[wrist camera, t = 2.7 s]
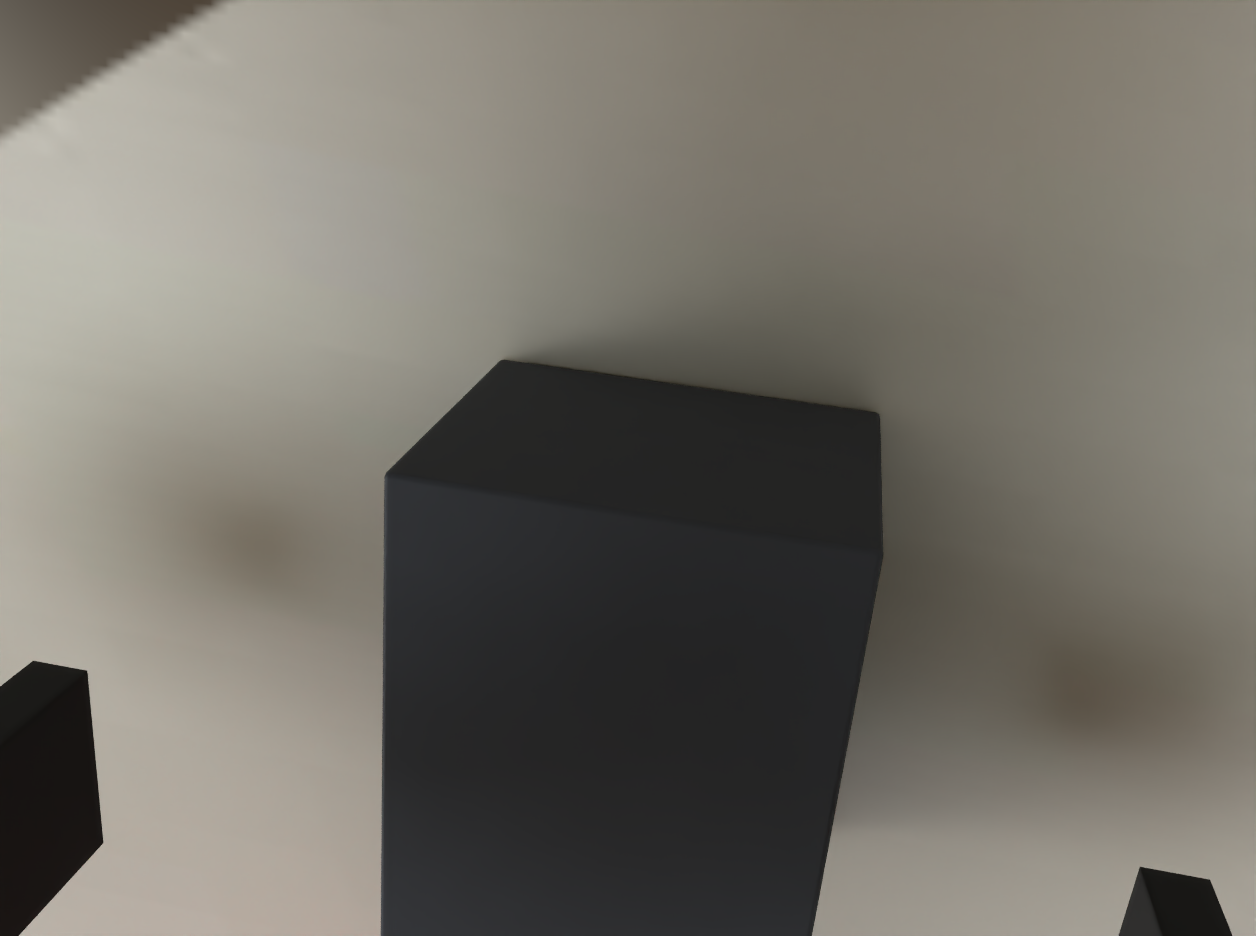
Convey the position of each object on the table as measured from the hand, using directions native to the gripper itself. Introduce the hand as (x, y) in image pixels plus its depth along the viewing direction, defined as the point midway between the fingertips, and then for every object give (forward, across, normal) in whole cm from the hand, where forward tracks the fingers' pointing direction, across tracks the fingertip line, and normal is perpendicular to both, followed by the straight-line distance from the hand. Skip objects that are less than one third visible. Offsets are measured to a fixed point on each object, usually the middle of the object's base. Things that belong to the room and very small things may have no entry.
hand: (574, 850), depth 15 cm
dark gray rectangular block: (+6, 0, 0) cm, 6 cm away
